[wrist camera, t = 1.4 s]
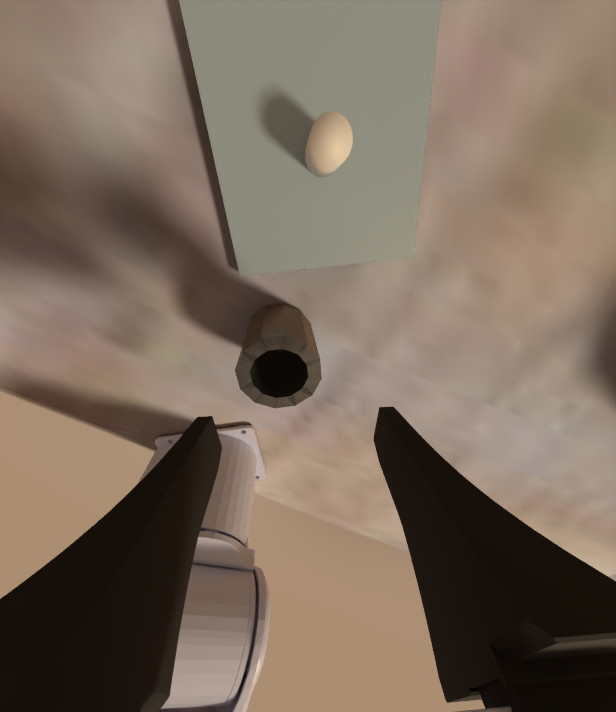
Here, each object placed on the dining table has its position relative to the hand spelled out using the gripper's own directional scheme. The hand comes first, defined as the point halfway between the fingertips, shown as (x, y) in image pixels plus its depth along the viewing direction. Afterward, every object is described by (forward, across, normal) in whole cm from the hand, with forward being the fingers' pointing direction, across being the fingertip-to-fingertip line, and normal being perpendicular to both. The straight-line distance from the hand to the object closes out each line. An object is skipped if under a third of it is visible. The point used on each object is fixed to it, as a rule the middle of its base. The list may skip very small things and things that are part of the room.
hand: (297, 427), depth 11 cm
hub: (+10, +1, +1) cm, 11 cm away
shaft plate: (+11, -2, -10) cm, 15 cm away
